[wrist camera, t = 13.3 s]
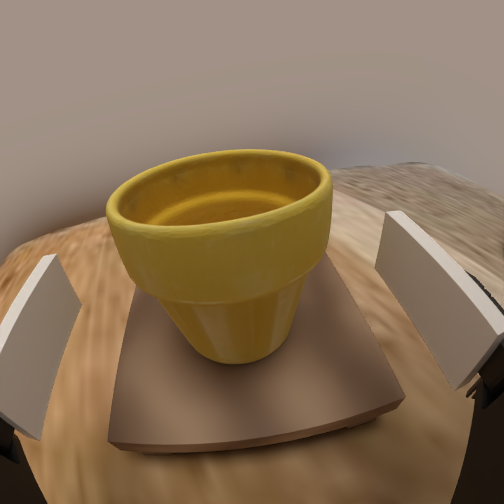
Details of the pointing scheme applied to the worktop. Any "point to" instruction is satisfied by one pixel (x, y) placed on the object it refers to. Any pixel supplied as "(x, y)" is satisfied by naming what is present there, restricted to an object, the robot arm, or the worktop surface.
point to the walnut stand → (250, 379)
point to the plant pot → (225, 244)
